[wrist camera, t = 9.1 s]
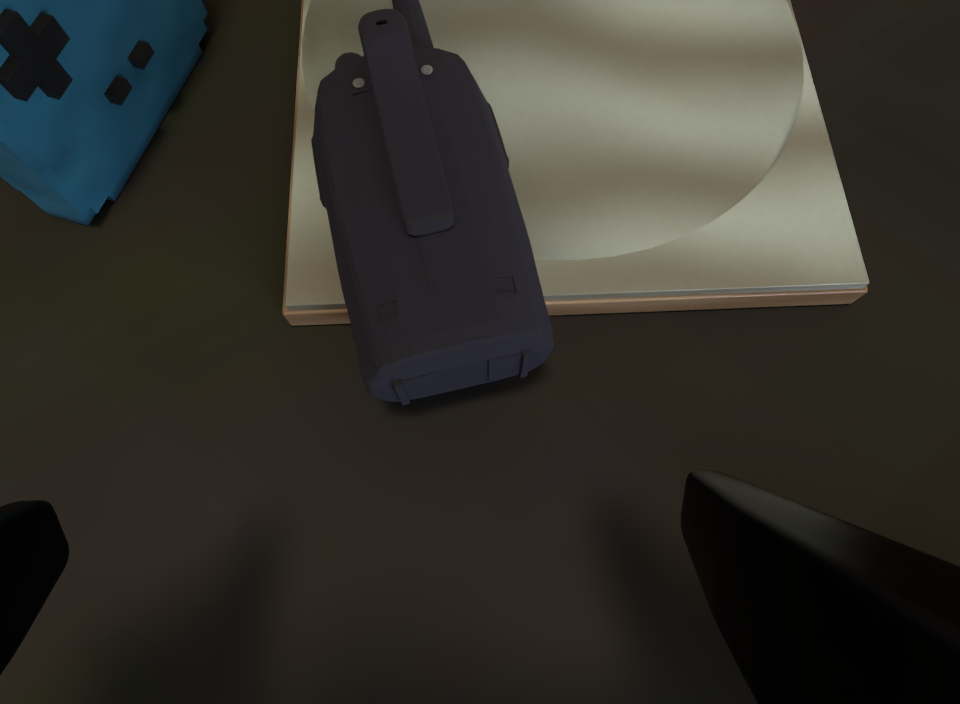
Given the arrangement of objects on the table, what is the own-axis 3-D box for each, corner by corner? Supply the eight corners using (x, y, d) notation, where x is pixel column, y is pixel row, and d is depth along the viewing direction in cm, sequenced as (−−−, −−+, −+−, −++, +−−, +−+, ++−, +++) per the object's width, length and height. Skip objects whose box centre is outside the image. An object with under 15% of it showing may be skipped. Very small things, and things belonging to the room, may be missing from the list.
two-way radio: (561, 375, 18) (446, -7, 23) (585, 313, 13) (438, -140, 18) (369, 420, 17) (294, 21, 22) (331, 371, 13) (251, -108, 18)
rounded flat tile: (851, 304, 20) (877, 286, 19) (290, 326, 20) (277, 309, 18) (741, -107, 26) (755, -142, 25) (314, -97, 26) (306, -134, 25)
